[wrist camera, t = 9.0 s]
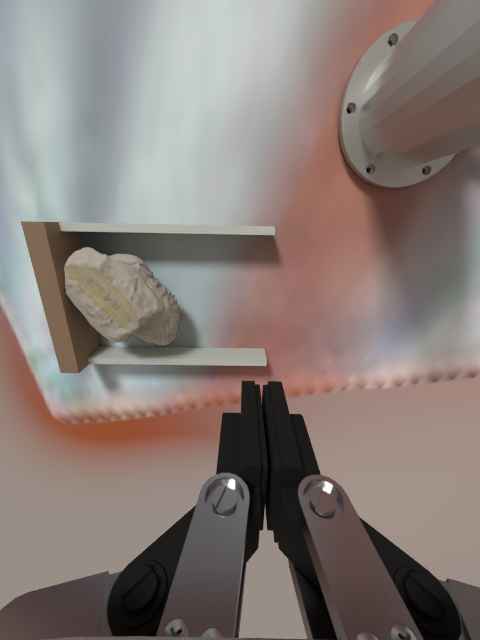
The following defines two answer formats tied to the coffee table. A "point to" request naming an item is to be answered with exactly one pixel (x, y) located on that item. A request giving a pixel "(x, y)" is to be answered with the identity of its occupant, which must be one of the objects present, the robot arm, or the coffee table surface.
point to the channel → (73, 328)
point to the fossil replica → (121, 297)
